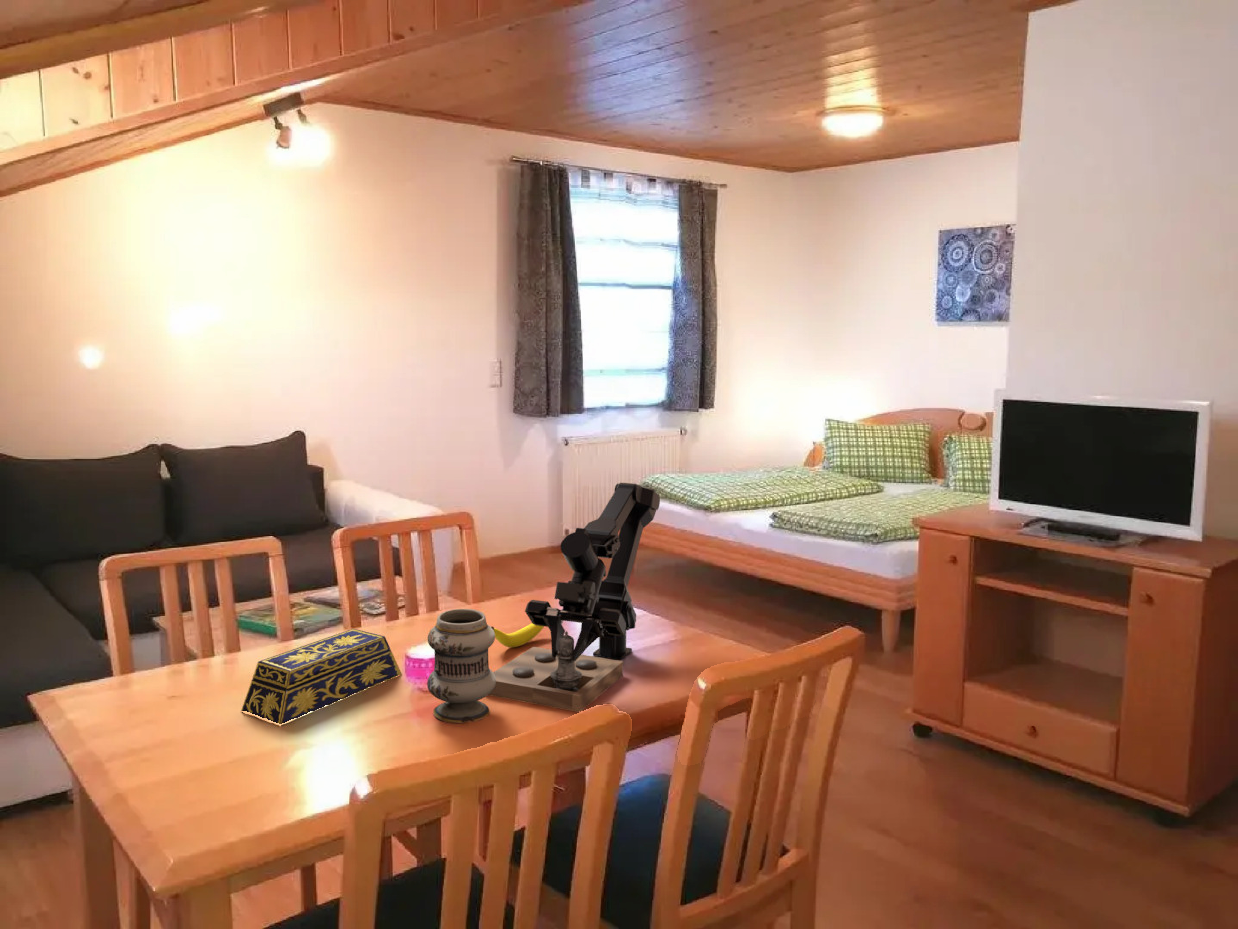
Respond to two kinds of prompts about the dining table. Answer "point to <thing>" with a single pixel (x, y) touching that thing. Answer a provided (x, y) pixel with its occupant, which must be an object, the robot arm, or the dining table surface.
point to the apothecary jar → (461, 665)
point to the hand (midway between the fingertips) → (563, 658)
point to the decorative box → (319, 675)
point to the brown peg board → (535, 685)
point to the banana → (517, 635)
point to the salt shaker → (566, 666)
